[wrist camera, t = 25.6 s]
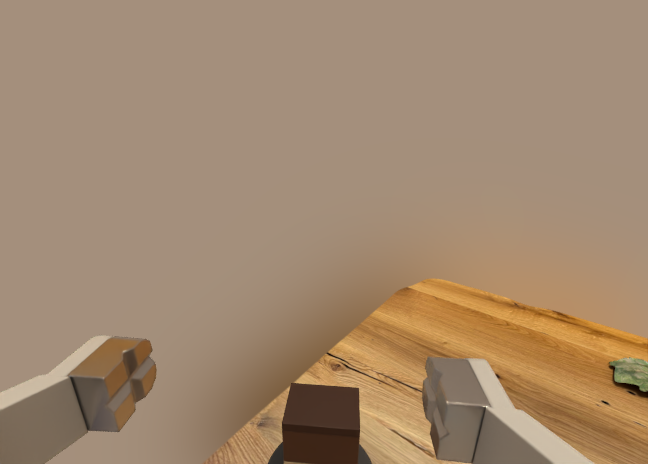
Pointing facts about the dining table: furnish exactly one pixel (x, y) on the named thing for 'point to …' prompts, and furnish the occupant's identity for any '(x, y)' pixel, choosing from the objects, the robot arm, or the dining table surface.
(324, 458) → the cake slice
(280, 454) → the plate
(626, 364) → the lettuce leaf
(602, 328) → the dining table surface
